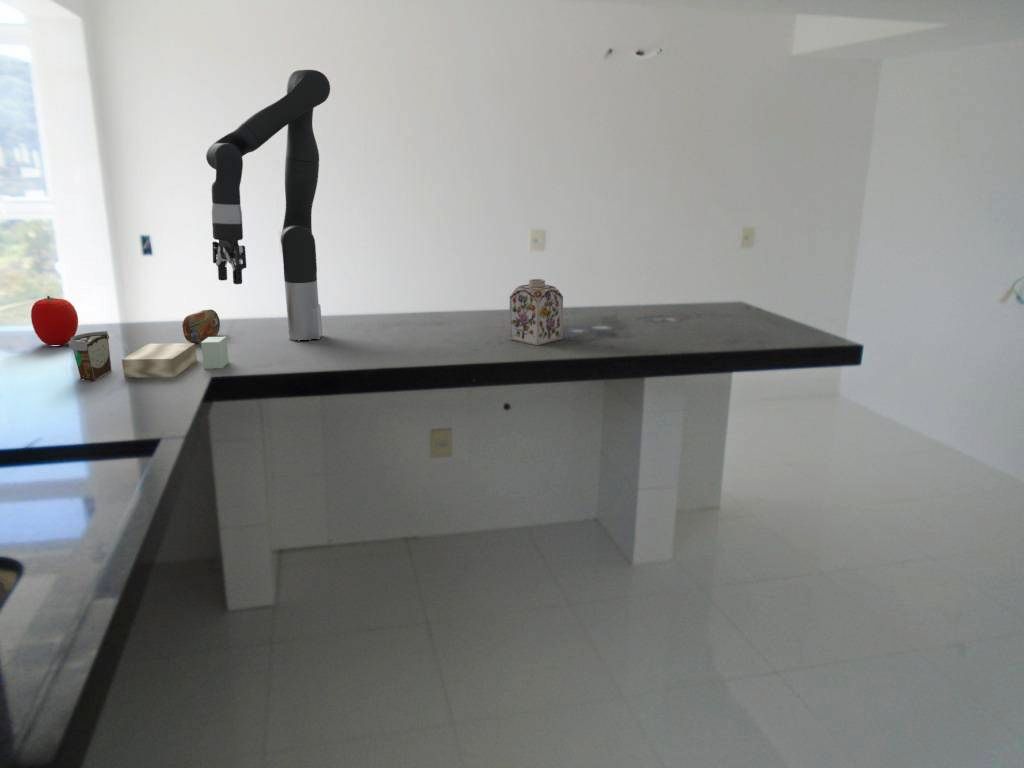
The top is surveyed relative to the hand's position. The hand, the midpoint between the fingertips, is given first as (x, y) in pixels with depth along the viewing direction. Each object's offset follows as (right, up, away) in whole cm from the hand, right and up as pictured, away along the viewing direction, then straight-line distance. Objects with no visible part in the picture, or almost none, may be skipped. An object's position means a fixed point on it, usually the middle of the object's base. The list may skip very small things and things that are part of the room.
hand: (230, 282), depth 201 cm
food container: (-27, -26, -19) cm, 42 cm away
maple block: (-13, -24, -12) cm, 30 cm away
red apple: (-54, -17, +12) cm, 58 cm away
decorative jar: (+84, -15, +20) cm, 88 cm away
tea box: (0, -23, -9) cm, 25 cm away
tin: (-15, -15, +19) cm, 28 cm away
